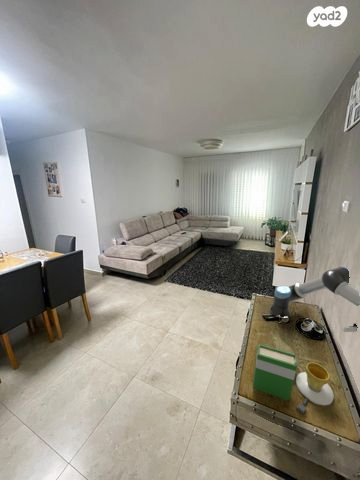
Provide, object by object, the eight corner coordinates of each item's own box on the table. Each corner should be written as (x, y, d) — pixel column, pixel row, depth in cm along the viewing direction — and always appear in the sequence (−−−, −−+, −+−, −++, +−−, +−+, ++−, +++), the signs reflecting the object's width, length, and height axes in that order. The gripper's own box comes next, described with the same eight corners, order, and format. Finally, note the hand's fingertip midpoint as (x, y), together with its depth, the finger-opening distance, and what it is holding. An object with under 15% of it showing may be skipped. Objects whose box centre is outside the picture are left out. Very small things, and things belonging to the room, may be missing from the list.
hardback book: (287, 387, 108) (295, 354, 101) (289, 401, 102) (296, 366, 94) (253, 375, 115) (258, 343, 108) (253, 387, 109) (257, 354, 101)
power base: (303, 368, 119) (303, 365, 118) (337, 390, 106) (338, 388, 106) (282, 397, 104) (282, 394, 103) (319, 428, 91) (320, 425, 90)
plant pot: (324, 380, 110) (328, 367, 107) (326, 397, 102) (330, 383, 99) (303, 371, 115) (306, 359, 112) (303, 387, 107) (306, 374, 104)
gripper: (421, 366, 91) (374, 366, 91) (372, 327, 115) (335, 327, 115) (427, 354, 89) (379, 354, 89) (375, 316, 112) (338, 316, 113)
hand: (354, 339), depth 102 cm, fingers open, 13 cm apart
